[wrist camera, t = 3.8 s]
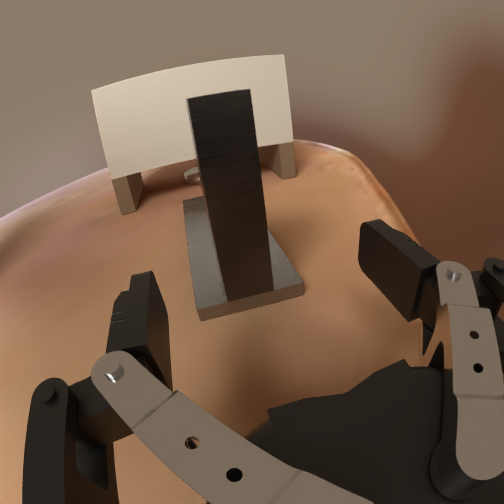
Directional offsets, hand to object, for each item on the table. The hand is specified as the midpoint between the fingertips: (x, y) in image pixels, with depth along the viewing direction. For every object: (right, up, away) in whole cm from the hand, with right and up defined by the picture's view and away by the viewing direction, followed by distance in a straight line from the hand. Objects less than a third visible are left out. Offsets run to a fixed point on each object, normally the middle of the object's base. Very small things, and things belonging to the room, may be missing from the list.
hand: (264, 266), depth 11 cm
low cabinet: (-7, +11, +33) cm, 36 cm away
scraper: (-3, +2, +17) cm, 17 cm away
